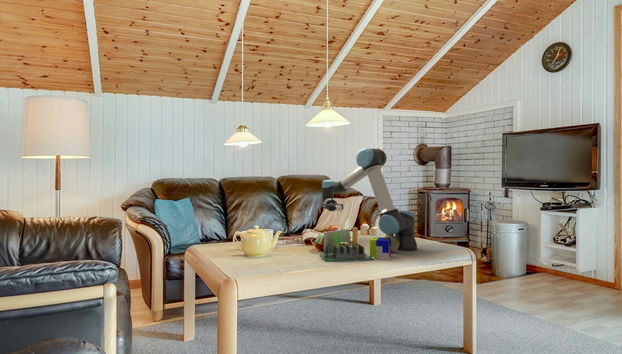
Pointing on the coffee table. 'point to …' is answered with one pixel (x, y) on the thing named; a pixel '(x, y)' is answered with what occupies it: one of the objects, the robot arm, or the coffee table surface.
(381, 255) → the puzzle toy
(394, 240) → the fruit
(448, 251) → the coffee table surface
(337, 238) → the upright grey panel
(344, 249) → the model factory
